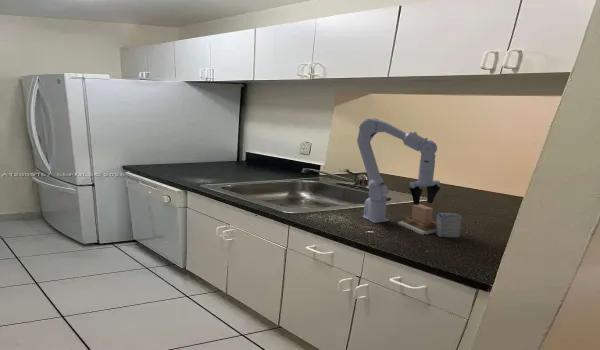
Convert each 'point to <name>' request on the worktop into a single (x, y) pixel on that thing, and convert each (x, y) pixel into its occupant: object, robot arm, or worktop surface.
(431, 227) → the cradle
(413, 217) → the key block
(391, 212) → the worktop surface
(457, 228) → the medicine box
